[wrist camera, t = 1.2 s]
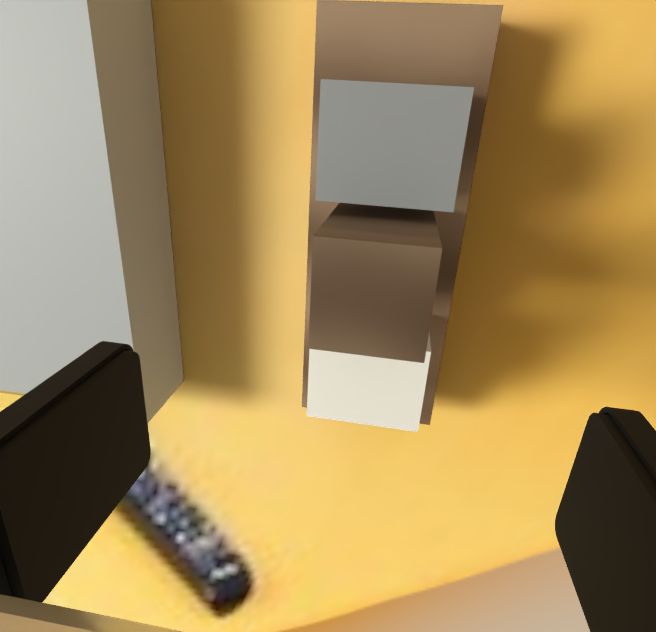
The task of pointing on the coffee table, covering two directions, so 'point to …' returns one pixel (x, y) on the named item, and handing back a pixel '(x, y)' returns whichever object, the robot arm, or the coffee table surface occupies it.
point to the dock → (83, 194)
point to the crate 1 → (391, 143)
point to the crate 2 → (367, 389)
